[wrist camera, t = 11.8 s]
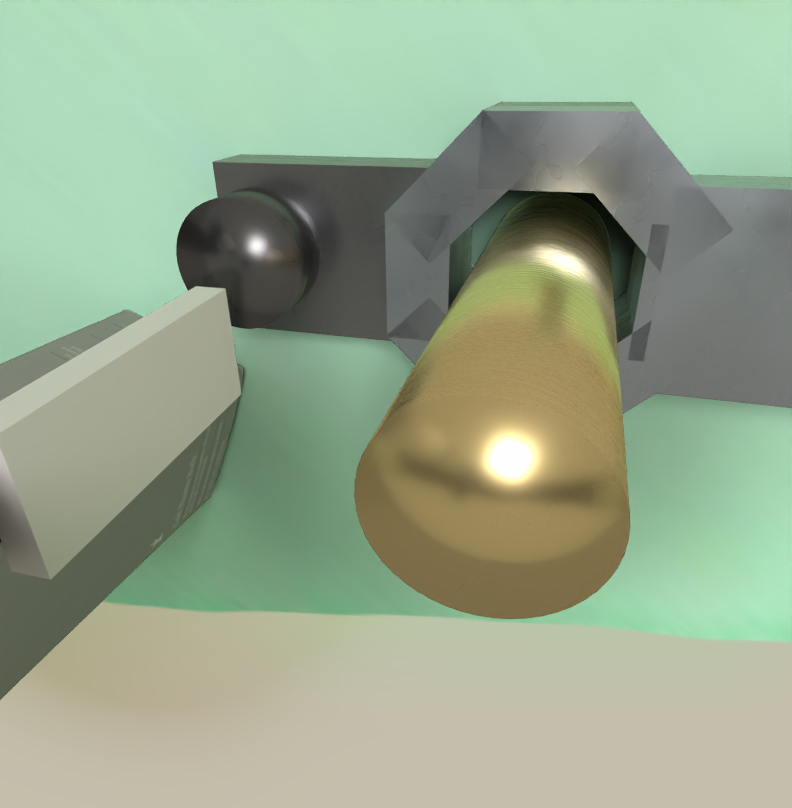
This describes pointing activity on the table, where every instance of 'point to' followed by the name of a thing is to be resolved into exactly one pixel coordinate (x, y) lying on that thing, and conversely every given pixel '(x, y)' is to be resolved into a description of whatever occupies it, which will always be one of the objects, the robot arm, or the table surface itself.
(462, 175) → the grey socket base
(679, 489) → the table surface
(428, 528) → the brass pin
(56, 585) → the skincare box
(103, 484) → the robot arm
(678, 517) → the table surface
